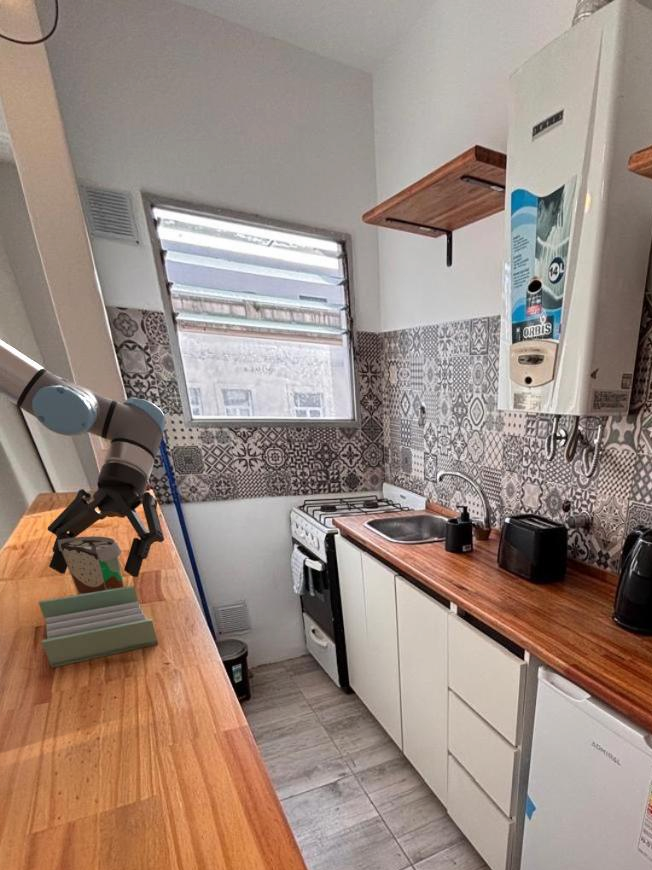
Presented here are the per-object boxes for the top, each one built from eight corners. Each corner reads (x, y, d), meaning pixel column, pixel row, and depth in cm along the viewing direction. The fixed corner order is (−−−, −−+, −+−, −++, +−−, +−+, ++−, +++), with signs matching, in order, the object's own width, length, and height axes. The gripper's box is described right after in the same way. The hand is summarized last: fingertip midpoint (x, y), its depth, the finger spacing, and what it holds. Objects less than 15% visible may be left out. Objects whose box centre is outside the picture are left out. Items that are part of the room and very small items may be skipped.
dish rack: (46, 623, 84) (38, 601, 82) (139, 606, 91) (133, 585, 89) (51, 668, 71) (41, 642, 69) (158, 644, 79) (152, 620, 77)
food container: (148, 594, 96) (134, 542, 92) (114, 605, 91) (98, 550, 87) (107, 582, 101) (92, 532, 97) (73, 592, 96) (55, 539, 92)
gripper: (199, 487, 103) (173, 583, 96) (77, 482, 103) (43, 577, 96) (178, 463, 96) (149, 565, 89) (47, 457, 96) (8, 559, 89)
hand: (93, 572), depth 93 cm, fingers open, 13 cm apart
